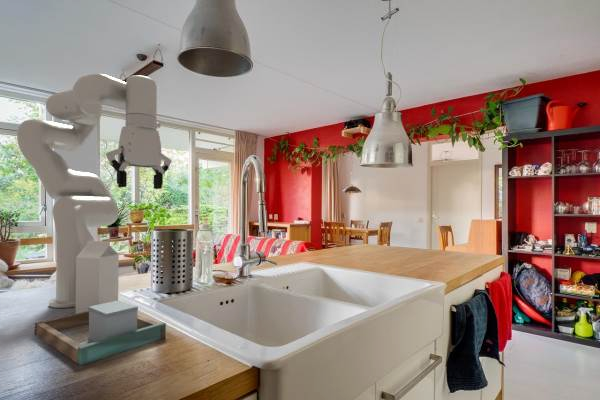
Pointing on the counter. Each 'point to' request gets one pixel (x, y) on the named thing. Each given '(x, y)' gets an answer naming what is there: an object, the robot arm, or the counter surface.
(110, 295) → the milk carton
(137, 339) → the bay
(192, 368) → the counter surface
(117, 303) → the grey block
